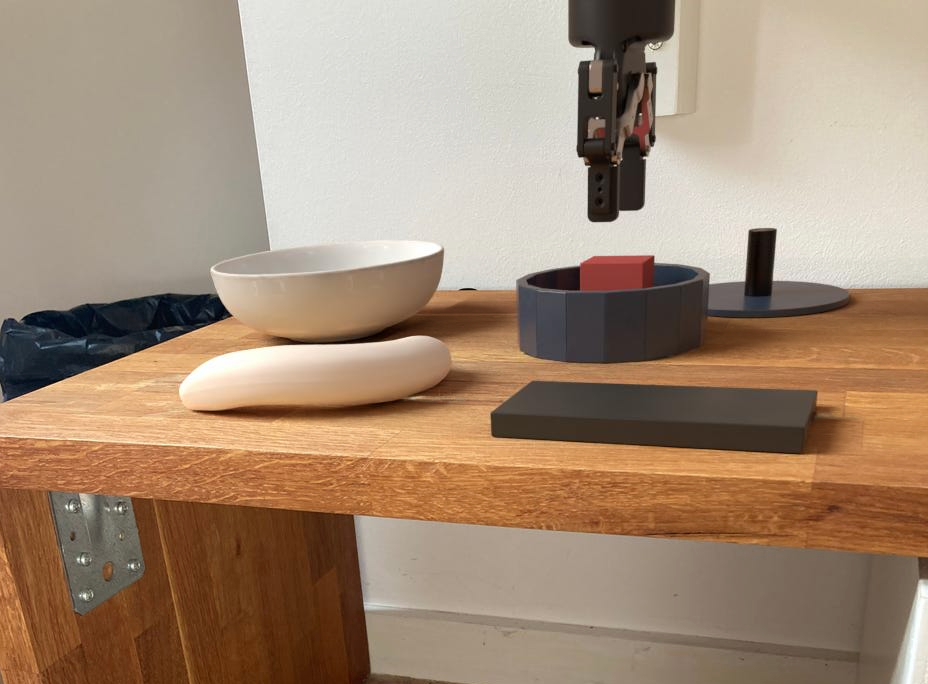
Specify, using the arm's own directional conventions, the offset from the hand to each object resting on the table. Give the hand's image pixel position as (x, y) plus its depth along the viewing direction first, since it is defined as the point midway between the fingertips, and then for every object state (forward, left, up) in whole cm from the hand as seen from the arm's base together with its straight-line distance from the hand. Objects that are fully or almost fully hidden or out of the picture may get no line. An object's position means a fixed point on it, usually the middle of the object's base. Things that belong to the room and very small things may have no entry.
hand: (617, 215), depth 79 cm
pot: (0, +2, -10) cm, 10 cm away
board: (-8, +23, -10) cm, 26 cm away
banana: (+17, +19, -10) cm, 27 cm away
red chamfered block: (0, 0, -9) cm, 9 cm away
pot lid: (-9, -16, -9) cm, 21 cm away
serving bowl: (+27, -2, -10) cm, 29 cm away
